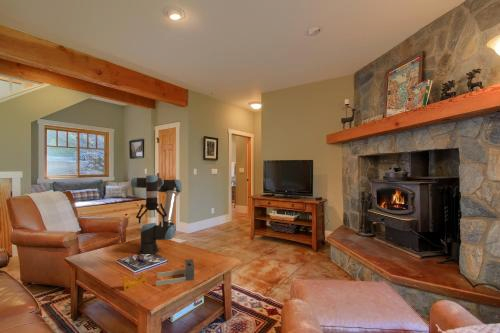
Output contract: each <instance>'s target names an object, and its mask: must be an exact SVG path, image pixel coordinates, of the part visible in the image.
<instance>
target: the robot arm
mask: <svg viewBox="0 0 500 333" xmlns="http://www.w3.org/2000/svg"><path fill="white" fill-rule="evenodd" d="M130 186H131V188H133V189H134V188H135V189H145V197H146V198H145V204H143V203H141V206H140V208H139V210H138V212H137V214H136V215H135V219H138V224H140V245H139V248H138V255H139V254H153V255H156V254H158V252H159V247H158V243H157V241H167V240H169V241H170V240H172V239H173V238H174V237H175V236H176V229H177V228H176V225H175V223H174V222H173V221H174V215H175V209H176V202H177V197H178V196H179V195H180V193H181V192H182V188H183V187H182V182H181V180H180V179H163V178H162V177H159V176H158V175H157V174H156V175H155V174H152V175H151V174H150V175H149V174H147V175H146V177H132V178H131V180H130ZM159 192H160V193H164V194H165V195H166V196H165V202H164V207H163V202H161V203H158V201H159V199H158V193H159ZM158 206H159V207H160V209H161V210H162V211H161V210H160V209H159V208H158ZM143 208H146V209H145V210H144V211H143V212H142V210H143ZM148 211H156V212H157V213H158V214H159V215H160V216H161V221H160V222H159V224H157V223H156V222H151V223H145V224H143V216H144V215H145V214H146V213H147V212H148ZM141 212H142V213H141Z"/></svg>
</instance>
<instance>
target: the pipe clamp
mask: <svg viewBox="0 0 500 333" xmlns="http://www.w3.org/2000/svg"><path fill="white" fill-rule="evenodd" d="M128 278H129V277H128V276H127V275H126V276H123V280H122V281H123V285H122V287H123V291H129V290H131V289H136V288H137V287H138V286H142V285H146V284H147V273H146V271H143V272H141V275H140V277H139V278H137V279H136V280H133V281H132V280H130V279H128Z"/></svg>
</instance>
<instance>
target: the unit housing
mask: <svg viewBox="0 0 500 333" xmlns="http://www.w3.org/2000/svg"><path fill="white" fill-rule="evenodd" d="M184 269H185V275H186V282H188V281H193V280H194V281H195V263H194V259H193V258H190V259H184Z"/></svg>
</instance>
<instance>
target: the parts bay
mask: <svg viewBox="0 0 500 333" xmlns="http://www.w3.org/2000/svg"><path fill="white" fill-rule="evenodd" d="M175 275H178V276H179V275H183V276H182V277H175V278H170V279H169V278H168V279H163V280H162V279H161V280H160V279H159V280H156V281H155V286H157V287H158V286H163V285H171V284H177V283H184V282H187V281H186V275H185V268H184V269H177V270H176V269H175V270H170V271H169V270H168V271H163V272H157V274H156V277H157V278H162V277H168V276H169V277H170V276H175Z"/></svg>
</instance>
